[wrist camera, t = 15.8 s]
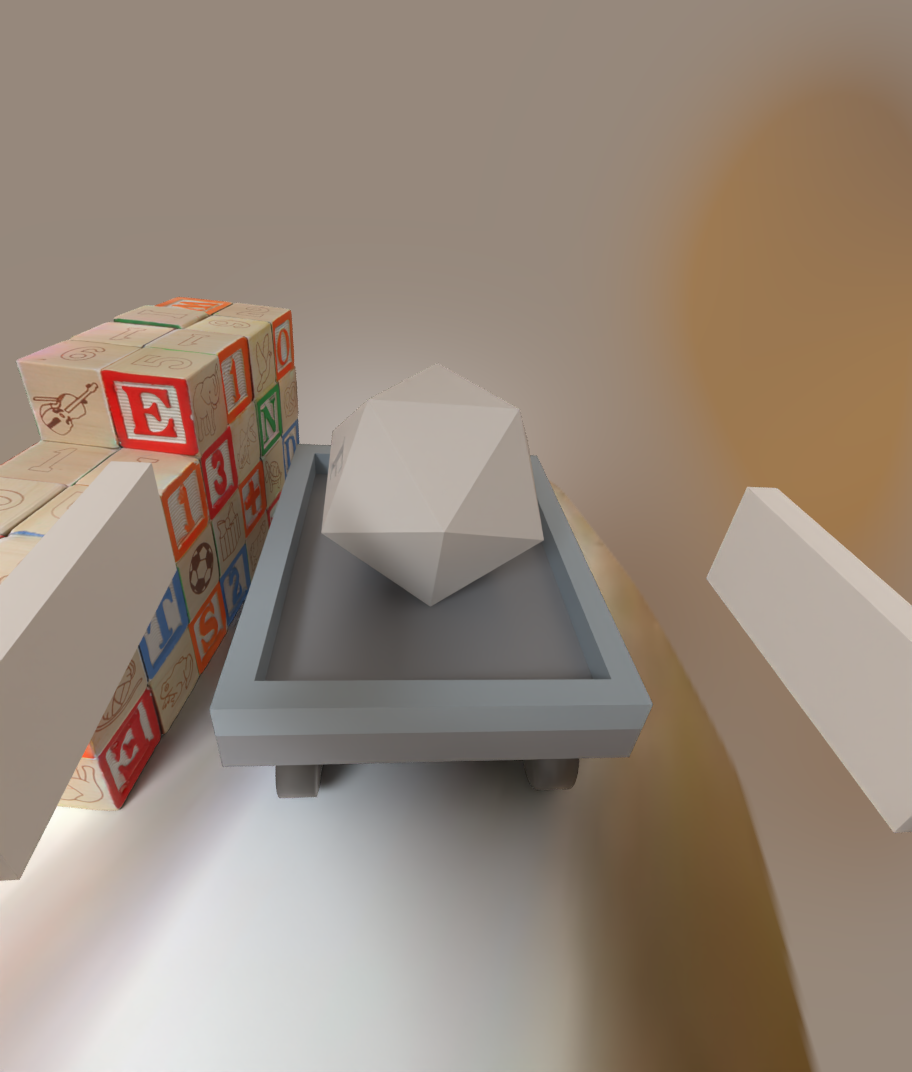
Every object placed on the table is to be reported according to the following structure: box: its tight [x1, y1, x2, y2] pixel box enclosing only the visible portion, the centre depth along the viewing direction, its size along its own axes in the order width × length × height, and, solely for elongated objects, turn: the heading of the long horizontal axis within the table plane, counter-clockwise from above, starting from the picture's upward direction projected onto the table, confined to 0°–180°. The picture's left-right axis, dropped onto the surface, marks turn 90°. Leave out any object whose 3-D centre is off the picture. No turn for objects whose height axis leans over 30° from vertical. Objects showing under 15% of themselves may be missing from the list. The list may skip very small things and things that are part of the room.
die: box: [321, 363, 544, 607], centre depth 22 cm, size 8×9×10 cm
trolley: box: [209, 444, 653, 798], centre depth 25 cm, size 13×17×6 cm
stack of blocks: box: [0, 297, 299, 811], centre depth 24 cm, size 21×6×12 cm, turn 176°
